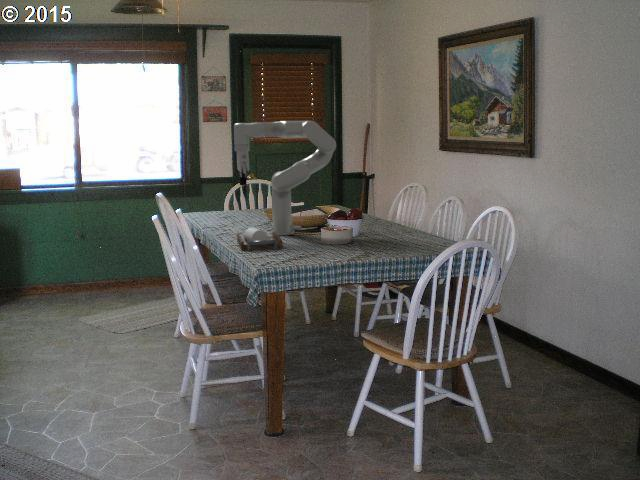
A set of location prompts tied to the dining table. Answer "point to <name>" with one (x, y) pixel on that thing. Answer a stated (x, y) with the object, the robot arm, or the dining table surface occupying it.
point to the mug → (256, 235)
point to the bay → (260, 243)
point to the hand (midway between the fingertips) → (243, 185)
